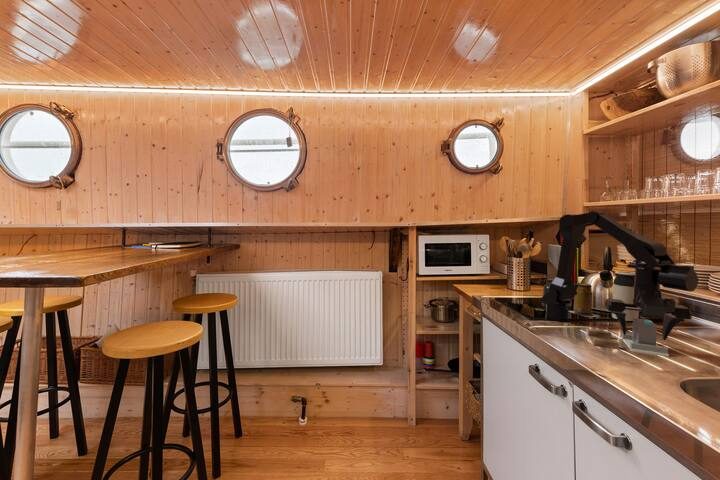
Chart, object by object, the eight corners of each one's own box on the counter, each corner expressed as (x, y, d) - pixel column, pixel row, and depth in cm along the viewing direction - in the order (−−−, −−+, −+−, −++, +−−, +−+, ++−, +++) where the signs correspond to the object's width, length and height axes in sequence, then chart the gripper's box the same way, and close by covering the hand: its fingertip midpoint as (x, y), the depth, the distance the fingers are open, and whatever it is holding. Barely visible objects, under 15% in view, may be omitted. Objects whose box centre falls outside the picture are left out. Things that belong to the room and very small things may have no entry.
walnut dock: (594, 346, 99) (594, 340, 99) (587, 334, 110) (587, 328, 110) (619, 350, 96) (619, 343, 96) (609, 337, 107) (609, 331, 107)
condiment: (582, 310, 139) (583, 282, 138) (600, 316, 131) (602, 286, 130) (567, 311, 138) (568, 283, 137) (585, 317, 129) (587, 287, 129)
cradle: (632, 352, 95) (632, 344, 95) (621, 339, 106) (621, 332, 106) (668, 357, 91) (669, 349, 91) (653, 343, 102) (653, 336, 102)
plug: (637, 347, 97) (639, 320, 96) (631, 340, 102) (633, 315, 102) (655, 349, 95) (657, 322, 94) (648, 342, 100) (650, 317, 100)
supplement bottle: (554, 309, 141) (555, 281, 140) (538, 305, 147) (539, 278, 146) (563, 307, 144) (565, 280, 143) (548, 304, 150) (549, 277, 149)
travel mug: (630, 323, 122) (633, 274, 121) (607, 317, 130) (609, 271, 129) (642, 320, 126) (645, 273, 125) (619, 315, 133) (621, 270, 132)
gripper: (614, 286, 94) (611, 340, 95) (703, 293, 86) (699, 352, 87) (605, 280, 104) (603, 329, 105) (684, 286, 96) (681, 339, 97)
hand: (643, 337), depth 98 cm, fingers open, 9 cm apart
